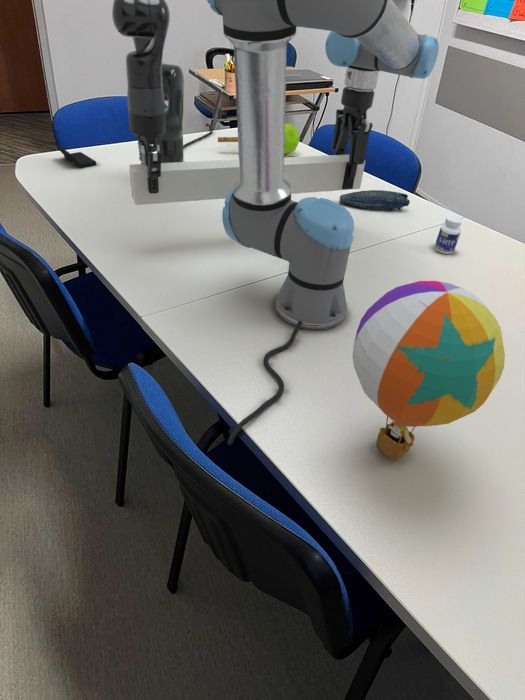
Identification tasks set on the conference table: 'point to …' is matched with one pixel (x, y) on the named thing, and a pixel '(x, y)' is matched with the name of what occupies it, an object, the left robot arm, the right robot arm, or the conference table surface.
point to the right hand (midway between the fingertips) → (341, 184)
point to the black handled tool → (77, 158)
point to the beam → (236, 178)
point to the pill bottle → (448, 235)
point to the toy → (426, 358)
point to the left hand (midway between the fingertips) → (151, 187)
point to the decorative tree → (290, 139)
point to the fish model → (376, 199)
